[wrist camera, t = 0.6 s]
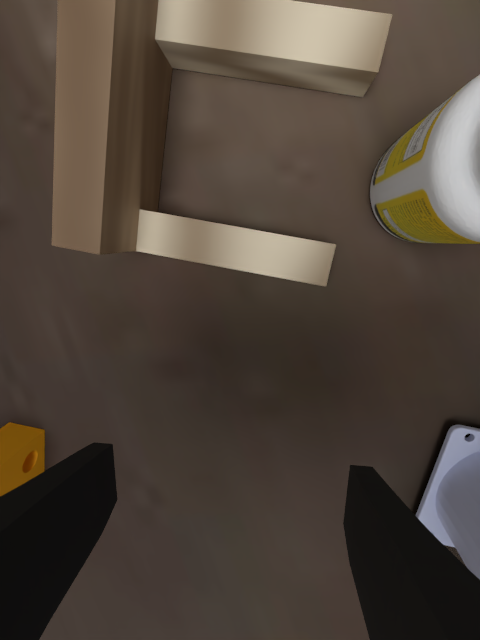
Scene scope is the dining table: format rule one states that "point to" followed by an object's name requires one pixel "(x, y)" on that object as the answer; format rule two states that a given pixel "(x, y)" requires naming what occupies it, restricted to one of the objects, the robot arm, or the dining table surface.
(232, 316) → the dining table surface
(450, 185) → the supplement bottle
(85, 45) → the can dock
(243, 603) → the dining table surface
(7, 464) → the pipe clamp
